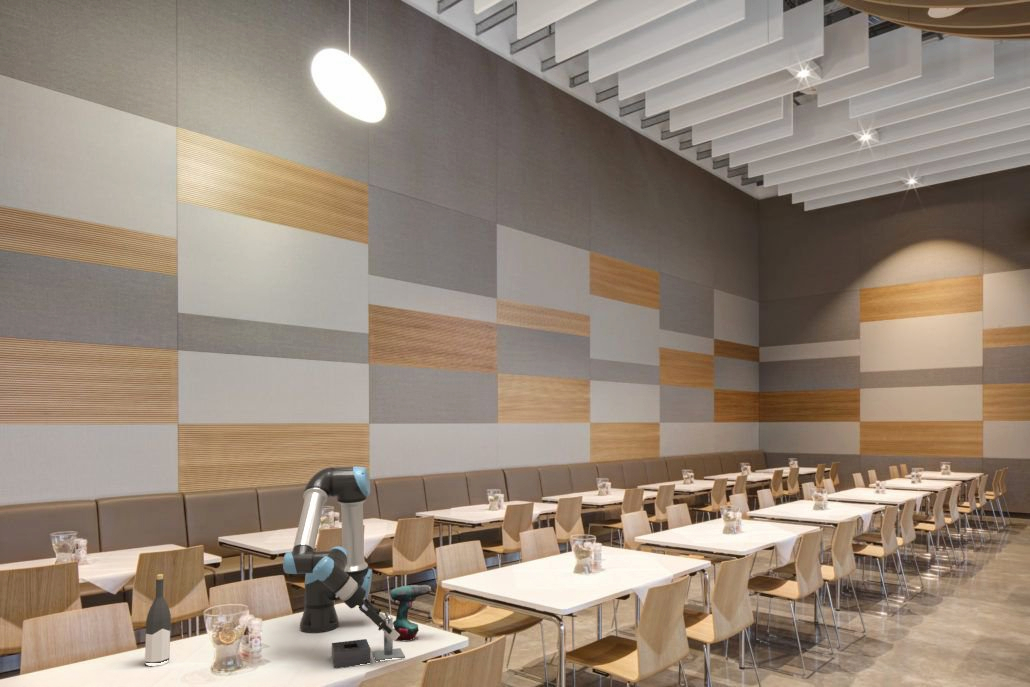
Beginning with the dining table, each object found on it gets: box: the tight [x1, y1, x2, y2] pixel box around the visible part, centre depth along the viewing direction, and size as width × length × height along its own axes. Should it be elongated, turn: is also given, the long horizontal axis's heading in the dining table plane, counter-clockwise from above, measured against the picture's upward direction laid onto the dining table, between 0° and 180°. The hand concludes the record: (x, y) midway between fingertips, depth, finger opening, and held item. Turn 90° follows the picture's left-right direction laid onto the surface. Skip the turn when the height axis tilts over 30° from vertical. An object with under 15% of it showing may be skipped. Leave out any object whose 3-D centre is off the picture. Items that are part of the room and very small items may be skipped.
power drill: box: [389, 584, 432, 641], centre depth 272 cm, size 7×16×20 cm, turn 78°
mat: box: [371, 647, 406, 662], centre depth 251 cm, size 10×10×1 cm
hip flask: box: [383, 611, 394, 655], centre depth 251 cm, size 8×3×13 cm, turn 19°
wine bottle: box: [144, 573, 172, 663], centre depth 251 cm, size 8×8×30 cm
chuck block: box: [331, 638, 372, 669], centre depth 247 cm, size 12×12×5 cm
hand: (394, 632), depth 253 cm, fingers open, 13 cm apart
